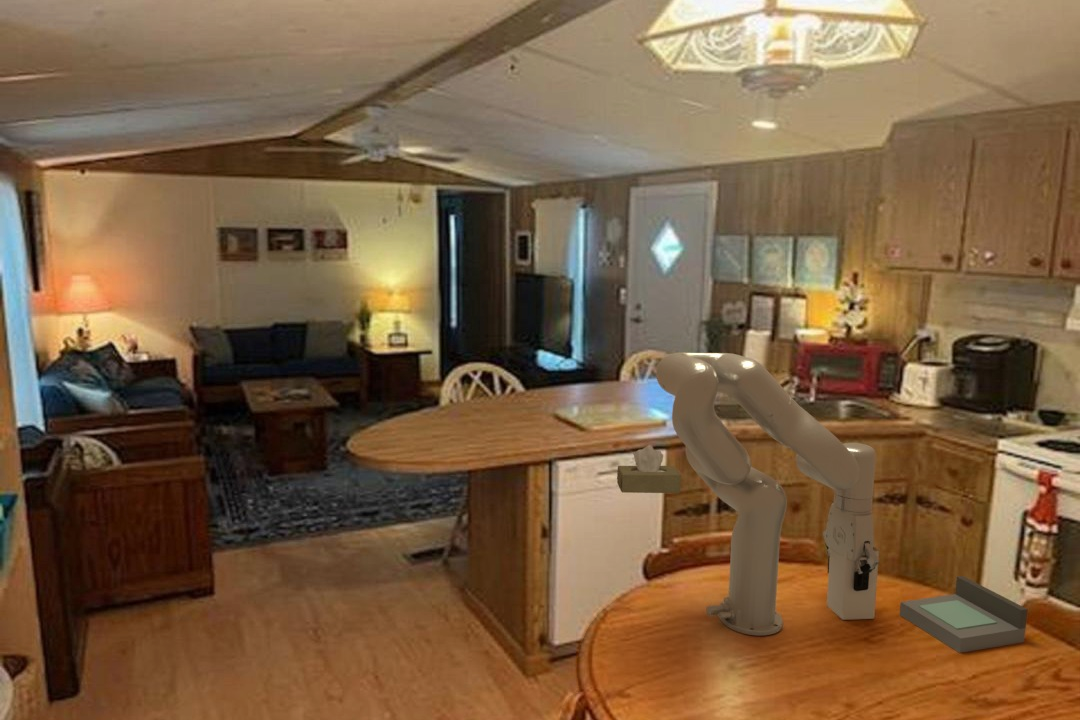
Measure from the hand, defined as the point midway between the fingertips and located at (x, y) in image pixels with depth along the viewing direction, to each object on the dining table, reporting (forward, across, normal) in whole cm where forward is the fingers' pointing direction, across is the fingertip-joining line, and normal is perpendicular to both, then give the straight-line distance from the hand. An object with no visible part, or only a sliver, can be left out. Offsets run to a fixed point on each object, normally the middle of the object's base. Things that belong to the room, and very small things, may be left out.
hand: (847, 580), depth 164 cm
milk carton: (+7, 0, +1) cm, 7 cm away
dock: (+7, +12, +19) cm, 23 cm away
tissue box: (+7, -84, -8) cm, 85 cm away
